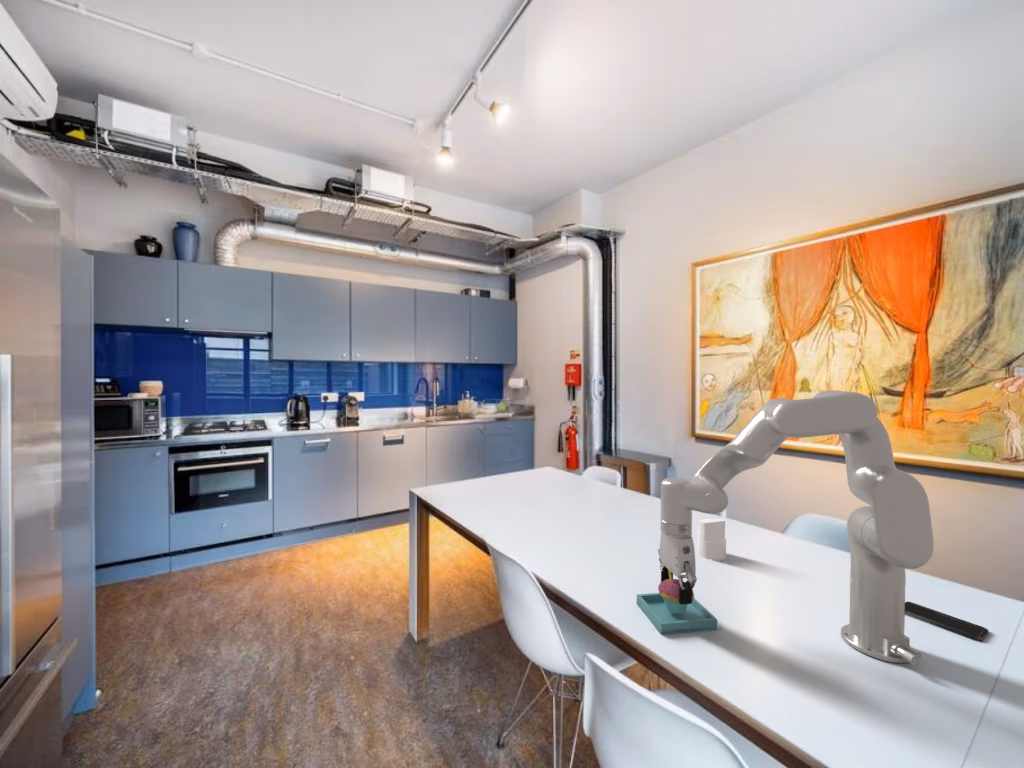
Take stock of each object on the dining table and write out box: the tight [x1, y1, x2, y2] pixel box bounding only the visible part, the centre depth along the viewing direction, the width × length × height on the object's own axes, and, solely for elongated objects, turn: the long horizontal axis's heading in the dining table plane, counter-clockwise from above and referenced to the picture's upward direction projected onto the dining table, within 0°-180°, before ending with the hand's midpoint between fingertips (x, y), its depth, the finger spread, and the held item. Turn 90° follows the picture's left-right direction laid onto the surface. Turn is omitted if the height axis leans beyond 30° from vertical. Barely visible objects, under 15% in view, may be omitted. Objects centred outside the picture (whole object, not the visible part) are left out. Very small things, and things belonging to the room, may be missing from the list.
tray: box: [636, 592, 718, 635], centre depth 107 cm, size 14×15×2 cm
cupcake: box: [657, 570, 695, 614], centre depth 107 cm, size 9×8×12 cm
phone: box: [905, 601, 990, 643], centre depth 105 cm, size 8×1×15 cm
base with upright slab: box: [696, 517, 727, 561], centre depth 144 cm, size 9×9×12 cm
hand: (675, 593), depth 107 cm, fingers closed on cupcake, 8 cm apart
